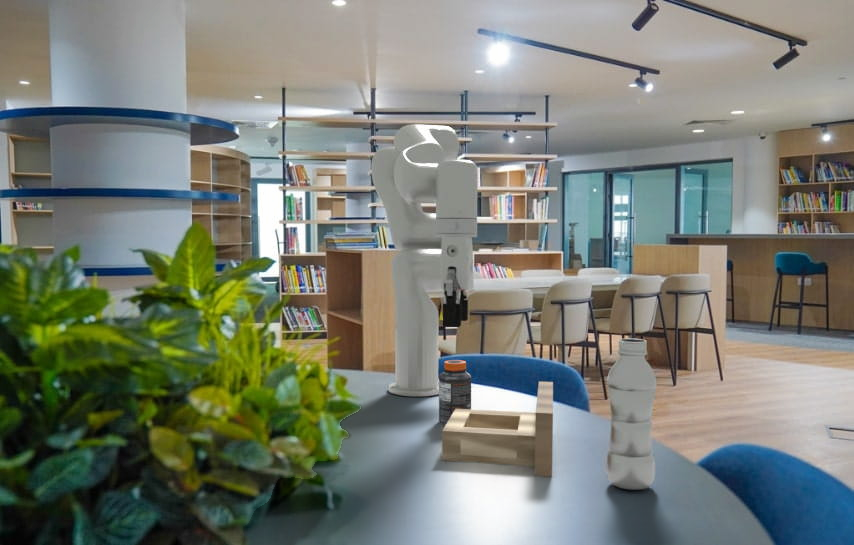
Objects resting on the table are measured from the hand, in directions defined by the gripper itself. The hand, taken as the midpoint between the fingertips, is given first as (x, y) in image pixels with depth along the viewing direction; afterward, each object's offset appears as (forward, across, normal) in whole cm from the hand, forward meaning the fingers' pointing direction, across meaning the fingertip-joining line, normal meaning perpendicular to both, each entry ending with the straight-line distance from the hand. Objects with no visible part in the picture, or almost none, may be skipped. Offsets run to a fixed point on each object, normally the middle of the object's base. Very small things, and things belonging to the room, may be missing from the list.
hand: (455, 323), depth 124 cm
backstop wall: (+18, -15, -16) cm, 29 cm away
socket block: (+18, -15, -8) cm, 25 cm away
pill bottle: (+18, 0, 0) cm, 18 cm away
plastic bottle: (+18, -28, -28) cm, 44 cm away
